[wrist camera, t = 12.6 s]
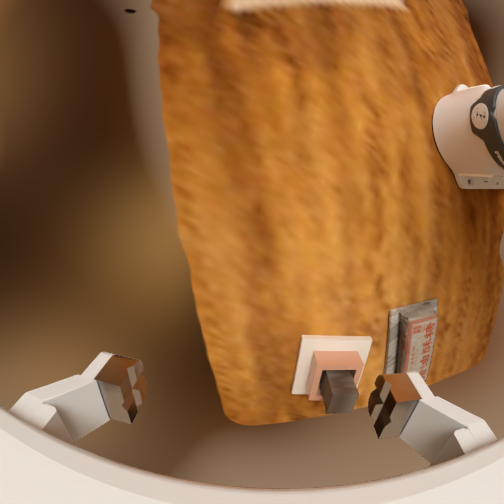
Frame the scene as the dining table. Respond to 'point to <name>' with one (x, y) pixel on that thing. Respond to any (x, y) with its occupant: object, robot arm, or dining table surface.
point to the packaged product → (411, 338)
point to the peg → (338, 391)
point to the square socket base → (328, 360)
